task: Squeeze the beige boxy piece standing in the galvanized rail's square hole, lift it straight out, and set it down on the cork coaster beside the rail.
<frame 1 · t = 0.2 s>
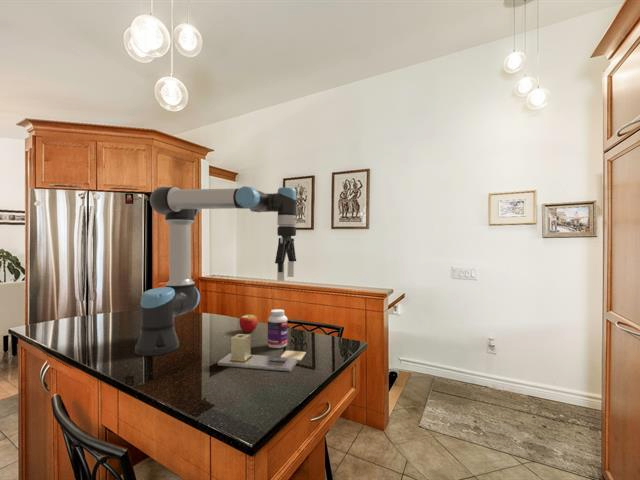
hand: (286, 278, 124), 28 cm above the counter, fingers open, 13 cm apart
pill bottle: (277, 346, 125), on the counter
rail: (258, 363, 107), on the counter
apple: (248, 332, 145), on the counter
coaster: (293, 356, 114), on the counter
beige boxy piece: (241, 361, 108), resting in rail
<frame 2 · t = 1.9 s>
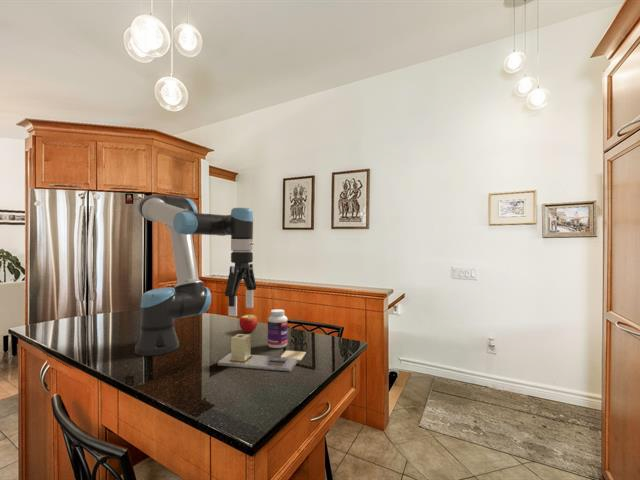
hand: (241, 311, 109), 18 cm above the counter, fingers open, 13 cm apart
nothing on the counter moved.
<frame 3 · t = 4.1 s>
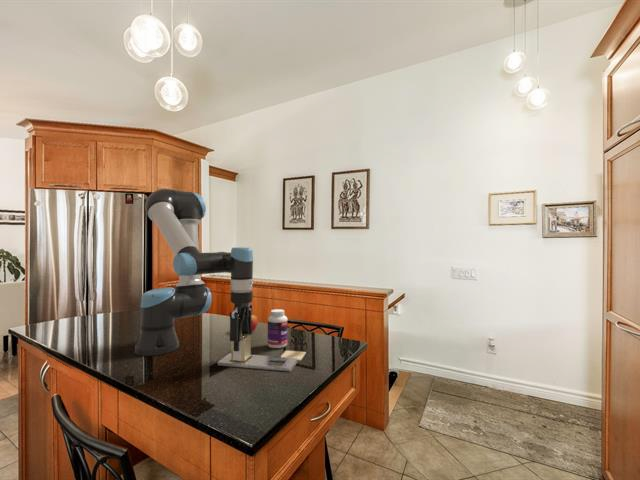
hand: (241, 356, 108), 2 cm above the counter, fingers closed on beige boxy piece, 5 cm apart
beige boxy piece: (241, 361, 108), resting in rail, touching gripper
everything else where it was.
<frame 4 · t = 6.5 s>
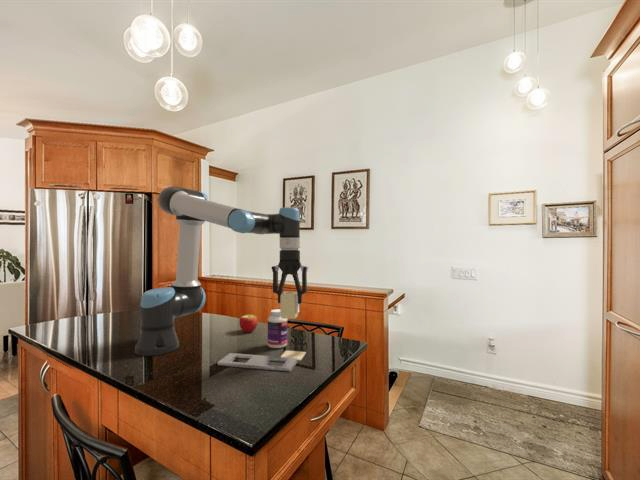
hand: (289, 312, 113), 16 cm above the counter, fingers closed on beige boxy piece, 5 cm apart
beige boxy piece: (289, 317, 113), point 15 cm above the counter, touching gripper
everything else where it was.
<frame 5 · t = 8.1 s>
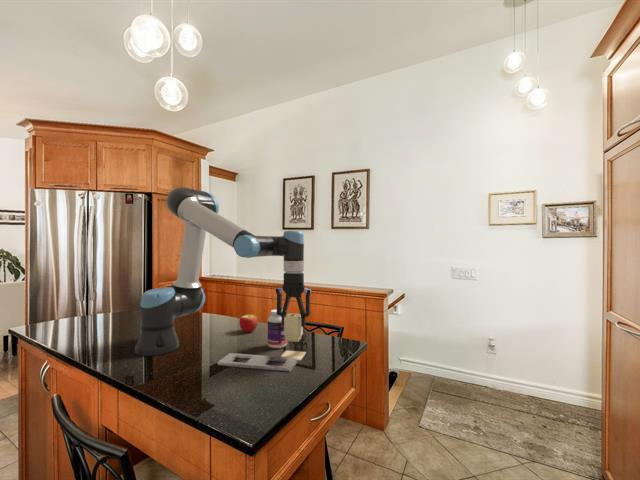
hand: (293, 334, 114), 8 cm above the counter, fingers closed on beige boxy piece, 5 cm apart
beige boxy piece: (293, 339, 114), point 6 cm above the counter, touching gripper
everything else where it was.
when the fingers open (4 cm above the counter, at t = 9.2 s): beige boxy piece drops 2 cm, resting on coaster.
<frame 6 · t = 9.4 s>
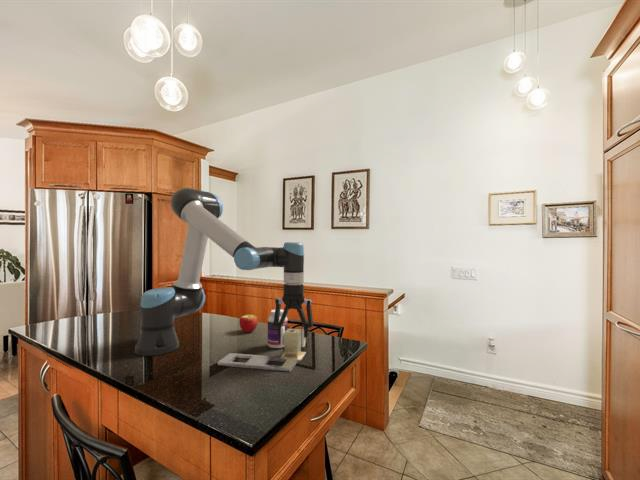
hand: (293, 344, 114), 4 cm above the counter, fingers open, 7 cm apart
beige boxy piece: (292, 355, 114), resting on coaster
everything else where it was.
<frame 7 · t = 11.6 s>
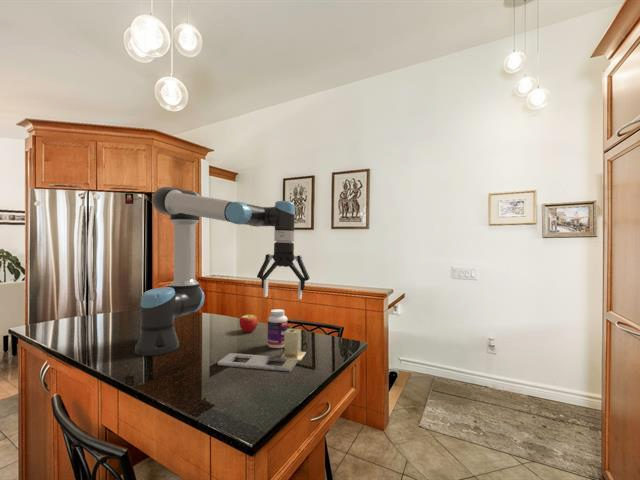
hand: (282, 297, 117), 21 cm above the counter, fingers open, 13 cm apart
nothing on the counter moved.
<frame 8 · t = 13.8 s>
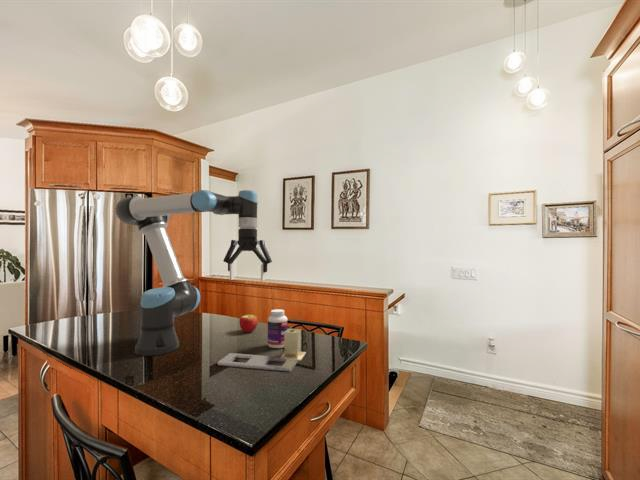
hand: (247, 279, 126), 27 cm above the counter, fingers open, 13 cm apart
nothing on the counter moved.
at the end: beige boxy piece inside the target area on the coaster (0.1 cm from its centre), point 0.4 cm above the coaster's base; beige boxy piece tilted 0°; the gripper is holding nothing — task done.
